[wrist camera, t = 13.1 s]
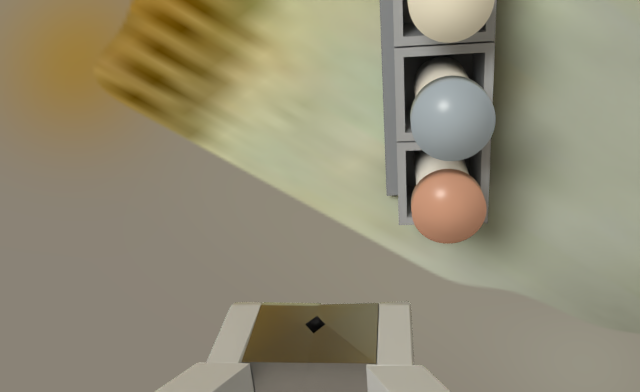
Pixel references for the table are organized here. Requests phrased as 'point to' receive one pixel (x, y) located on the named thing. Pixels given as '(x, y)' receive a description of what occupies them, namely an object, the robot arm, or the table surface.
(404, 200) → the socket board
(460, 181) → the terracotta plug
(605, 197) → the table surface
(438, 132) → the slate plug
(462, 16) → the cream plug
